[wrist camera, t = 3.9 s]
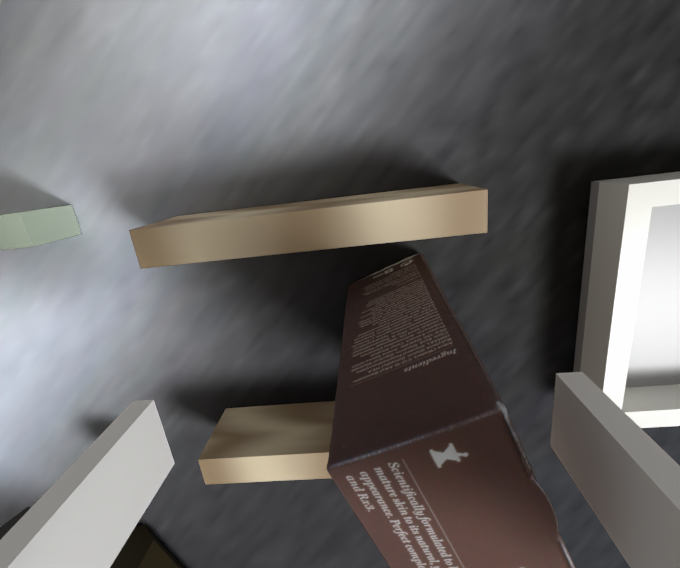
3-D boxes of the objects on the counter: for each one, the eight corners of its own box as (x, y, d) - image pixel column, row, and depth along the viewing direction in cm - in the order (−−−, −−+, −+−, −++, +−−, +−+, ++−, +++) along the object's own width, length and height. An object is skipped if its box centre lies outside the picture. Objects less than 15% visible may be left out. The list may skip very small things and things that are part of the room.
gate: (133, 451, 23) (102, 491, 21) (44, 208, 19) (-13, 216, 16) (155, 449, 23) (127, 489, 20) (71, 204, 18) (19, 212, 16)
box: (341, 286, 19) (317, 470, 8) (421, 249, 18) (525, 394, 7) (388, 376, 21) (425, 638, 9) (464, 346, 20) (606, 593, 9)
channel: (231, 430, 22) (205, 484, 19) (176, 216, 18) (129, 230, 15) (462, 415, 21) (484, 470, 18) (459, 183, 17) (487, 189, 13)
